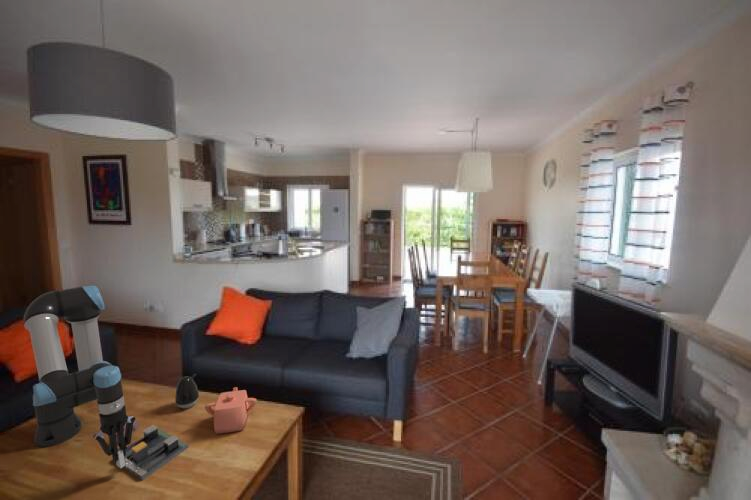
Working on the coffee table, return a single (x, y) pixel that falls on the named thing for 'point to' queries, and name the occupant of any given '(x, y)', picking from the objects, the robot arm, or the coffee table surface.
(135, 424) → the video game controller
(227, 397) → the teapot
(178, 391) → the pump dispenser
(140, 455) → the breaker
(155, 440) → the panel
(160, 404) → the coffee table surface
